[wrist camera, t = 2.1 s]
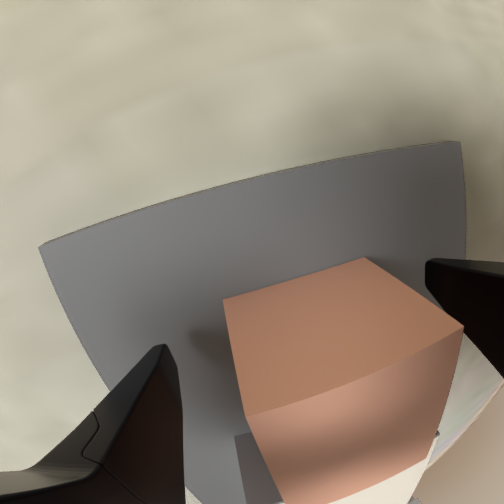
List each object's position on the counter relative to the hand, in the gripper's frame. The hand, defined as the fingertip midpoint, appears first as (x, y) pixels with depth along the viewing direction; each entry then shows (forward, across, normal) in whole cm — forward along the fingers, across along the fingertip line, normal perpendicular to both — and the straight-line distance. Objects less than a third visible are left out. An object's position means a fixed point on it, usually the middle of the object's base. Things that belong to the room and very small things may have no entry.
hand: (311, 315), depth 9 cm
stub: (+1, 0, +2) cm, 2 cm away
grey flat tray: (+2, 0, +7) cm, 7 cm away
